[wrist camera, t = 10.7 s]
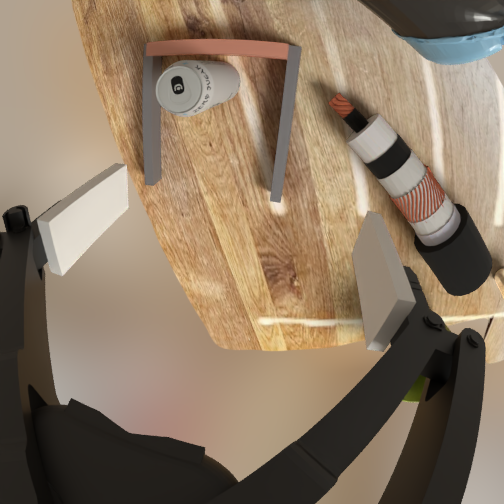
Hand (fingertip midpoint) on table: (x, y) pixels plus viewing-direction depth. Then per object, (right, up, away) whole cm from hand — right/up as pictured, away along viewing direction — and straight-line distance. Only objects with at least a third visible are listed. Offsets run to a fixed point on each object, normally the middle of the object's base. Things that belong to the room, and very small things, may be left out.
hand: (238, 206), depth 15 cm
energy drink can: (-4, +21, +21) cm, 30 cm away
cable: (+24, +8, +25) cm, 36 cm away
